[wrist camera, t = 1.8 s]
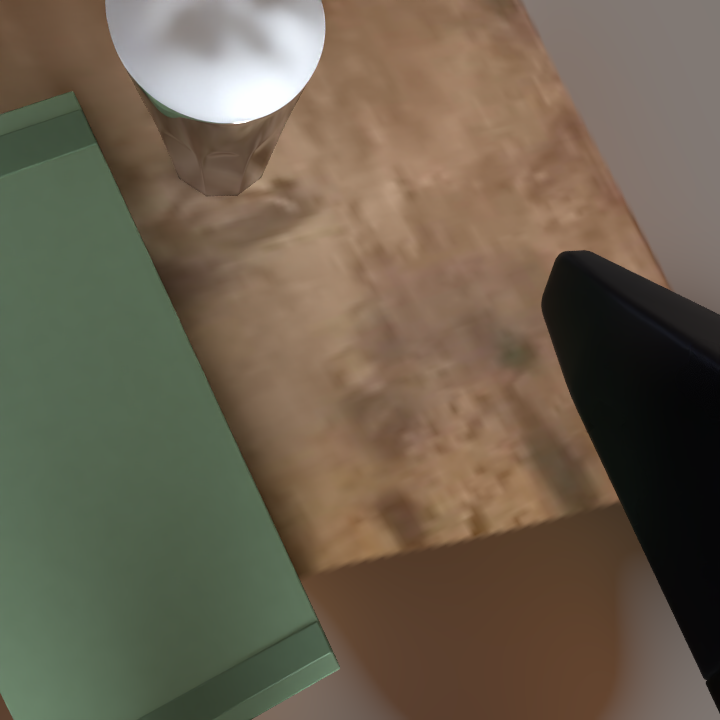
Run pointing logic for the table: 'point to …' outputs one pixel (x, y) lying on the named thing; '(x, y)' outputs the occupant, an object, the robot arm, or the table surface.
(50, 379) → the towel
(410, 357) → the table surface
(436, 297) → the table surface
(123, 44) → the milkshake
